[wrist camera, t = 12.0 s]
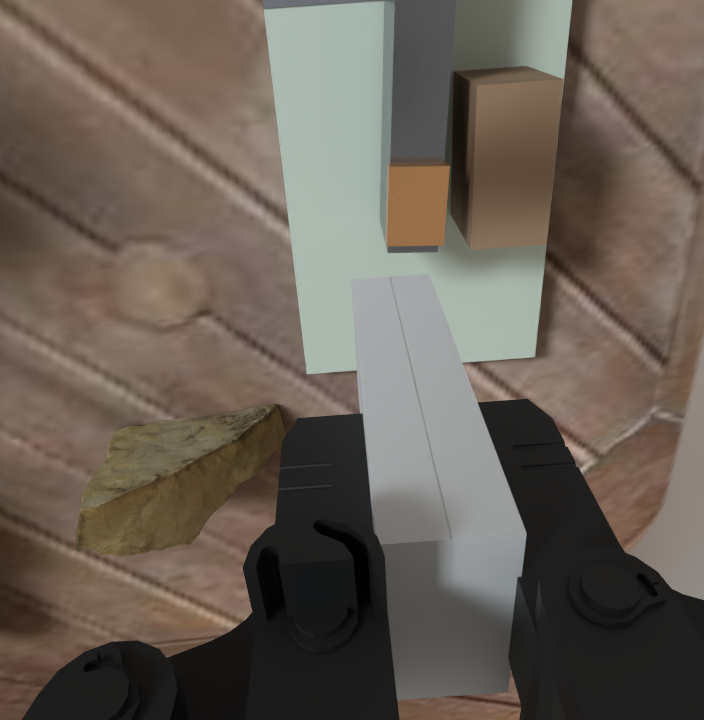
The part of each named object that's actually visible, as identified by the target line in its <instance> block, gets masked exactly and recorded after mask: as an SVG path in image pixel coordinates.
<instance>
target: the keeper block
mask: <svg viewBox="0 0 704 720" xmlns="http://www.w3.org/2000/svg"><path fill="white" fill-rule="evenodd" d="M563 81H564V79H562V78H559V77H556V76H553V75H551V74H548V73H545V72H542V71H539V70H537V69H534V68H531V67H528V66H519V67H505V68H492V69H478V70H464V71H454V75H453V123H452V171H451V216H452V218H453V220H454V222H455V223H456V225H457V227H458V229H459V230H460V232H461V234H462V236H463V237H464V239H465V241H466V242H467V244H468V246H469V248H470V249H471V250H477V249H491V248H505V247H518V246H532V245H545V244H546V243H547V233H548V224H549V214H550V205H551V195H552V186H553V176H554V167H555V157H556V148H557V138H558V129H559V119H560V110H561V100H562V90H563Z"/></svg>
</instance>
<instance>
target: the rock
mask: <svg viewBox="0 0 704 720" xmlns="http://www.w3.org/2000/svg"><path fill="white" fill-rule="evenodd" d="M285 436H286V433H285V429H284V425H283V422H282V417H281V413H280V411H279V408H278V407H277V406H276V405H263V406H257V407H253V408H248V409H243V410H241V411H235V412H227V413H220V414H215V415H212V416H205V417H199V418H190V417H188V418H181V419H175V420H167V421H166V420H164V421H160V422H156V423H152V424H148V425H145V426H128V427H123V428H121V429H119V430H116V431H115V432H114V434H113V437H112V438H111V440H110V442H109V445H108V449H107V454H106V461H105V462H104V463H103V464H102V466H101V468H100V469H99V470H98V471H97V472H96V473H95V474H94V476H93V477H92V479H91V480H90V482H89V483H88V485H87V487H86V489H85V491H84V494H83V497H82V503H81V509H80V514H79V519H78V526H77V532H76V545H77V549H78V552H81V551H85V550H90V549H95V550H98V552H99V553H100V554H103V555H115V556H130V555H135V554H141V553H146V552H149V551H152V550H155V551H161V550H164V549H165V548H167V547H173V546H178V545H183V546H186V545H188V544H191V543H192V542H194V541H195V540H196V539H197V538H198V536H199V534H200V531H201V529H202V527H203V526H204V524H205V523H206V522H207V520H208V519H209V518H210V516H211V515H212V514H213V513H214V512H215V511H216V510H217V509H218V508H220V507H221V506H222V505H223V504H224V503H225V502H226V500H227V499H228V497H230V496H231V495H232V494H233V493H234V492H235V490H236V488H237V487H238V486H239V485H240V484H241V483H242V482H244V481H246V480H249V479H251V478H253V477H254V476H255V475H256V474H257V473H258V472H259V471H261V469H262V468H263V467H264V466H265V464H266V463H267V460H268V458H269V457H270V456H271V454H272V453H273V452H274V451H275V450H276V449H277V448H279V446H280V445H281V444H282V441H283V439H284V438H285Z"/></svg>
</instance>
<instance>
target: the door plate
mask: <svg viewBox="0 0 704 720" xmlns="http://www.w3.org/2000/svg"><path fill="white" fill-rule="evenodd" d="M263 7H264V14H265V23H266V31H267V40H268V48H269V56H270V65H271V73H272V82H273V90H274V99H275V107H276V116H277V124H278V133H279V141H280V150H281V158H282V167H283V175H284V184H285V192H286V201H287V209H288V218H289V226H290V235H291V243H292V252H293V260H294V269H295V277H296V286H297V294H298V303H299V311H300V320H301V328H302V337H303V345H304V354H305V362H306V370H307V374H315V373H329V372H342V371H356V370H357V364H356V349H355V335H354V320H353V305H352V291H351V280H353V279H366V278H380V277H393V276H407V275H420V274H429V275H430V278H431V281H432V283H433V286H434V289H435V291H436V294H437V296H438V299H439V302H440V304H441V307H442V310H443V312H444V315H445V318H446V320H447V323H448V326H449V328H450V331H451V334H452V336H453V339H454V342H455V344H456V347H457V350H458V352H459V355H460V358H461V360H462V363H464V362H477V361H491V360H504V359H518V358H531V357H535V351H536V342H537V332H538V323H539V313H540V304H541V294H542V284H543V275H544V265H545V256H546V246H547V243H546V244H545V245H532V246H518V247H505V248H491V249H477V250H471V249H470V248H469V246H468V244H467V242H466V241H465V239H464V237H463V236H462V234H461V232H460V230H459V229H458V227H457V225H456V223H455V222H454V220H453V218H452V216H451V171H452V123H453V75H454V71H464V70H478V69H492V68H505V67H519V66H528V67H531V68H534V69H537V70H539V71H542V72H545V73H548V74H551V75H553V76H556V77H559V78H562V79H564V75H565V66H566V56H567V47H568V37H569V28H570V18H571V9H572V0H456V9H455V22H454V36H453V50H452V64H451V78H450V92H449V105H448V119H447V133H446V147H445V161H444V162H447V163H448V164H449V165H450V172H449V185H448V198H447V211H446V224H445V237H444V246H438V252H423V253H388V252H387V248H386V244H385V240H384V236H383V232H382V228H381V224H380V183H381V135H382V87H383V39H384V0H263ZM563 85H564V81H563ZM562 94H563V90H562ZM561 104H562V100H561ZM560 113H561V110H560ZM559 123H560V119H559ZM558 132H559V129H558ZM557 142H558V138H557ZM556 151H557V148H556ZM555 161H556V157H555ZM554 170H555V167H554ZM553 180H554V176H553ZM552 189H553V186H552ZM551 199H552V195H551ZM550 208H551V205H550ZM549 218H550V214H549ZM548 227H549V224H548ZM547 237H548V233H547Z"/></svg>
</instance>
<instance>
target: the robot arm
mask: <svg viewBox="0 0 704 720" xmlns="http://www.w3.org/2000/svg"><path fill="white" fill-rule="evenodd" d="M351 291H352V305H353V320H354V335H355V349H356V364H357V379H358V393H359V405H360V414H348V415H334V416H321V417H308V418H298V419H297V420H296V422H295V423H294V425H293V426H292V428H291V429H290V430H289V432H288V433H287V435H286V436H285V438H284V439H283V441H282V452H281V463H280V467H281V470H280V475H279V486H278V487H279V492H278V497H277V508H276V520H275V524H274V525H272V526H271V527H269V528H267V529H266V530H265V531H264V532H263V533H262V535H261V536H260V537H259V538H258V539H257V540H256V541H255V542H254V543H253V544H252V545H251V547H250V550H249V552H248V555H247V558H246V560H245V563H244V566H243V571H244V576H245V580H246V585H247V589H248V593H249V598H250V602H251V607H252V611H253V612H252V613H251V614H250V616H249V617H248V618H247V619H246V620H245V621H243V622H242V623H241V624H239V625H238V626H237V627H236V628H234V629H233V630H232V631H230V632H228V633H226V634H224V635H222V636H220V637H218V638H216V639H214V640H212V641H210V642H207V643H205V644H202V645H199V646H197V647H194V648H192V649H189V650H186V651H184V652H181V653H179V654H176V655H173V656H171V657H168V658H166V657H165V655H164V654H163V653H162V652H161V651H160V649H158V648H155V647H153V646H150V645H148V644H145V643H143V642H140V641H118V642H110V643H107V644H105V645H102V646H99V647H97V648H94V649H91V650H88V651H86V652H84V653H82V654H81V655H80V656H78V657H77V658H75V659H74V660H73V661H71V662H70V663H68V664H67V665H65V666H64V667H63V668H61V669H60V670H59V671H58V672H57V673H56V674H55V675H54V676H53V678H52V679H51V680H50V681H49V682H48V684H47V685H46V686H45V687H44V688H43V689H42V691H41V692H40V693H39V694H38V695H37V697H36V699H35V700H34V702H33V703H32V705H31V706H30V708H29V709H28V711H27V713H26V714H25V716H24V717H23V719H22V720H399V712H398V703H397V700H406V699H419V698H432V697H445V696H458V695H471V694H484V693H498V692H508V687H509V679H510V670H512V674H513V678H514V681H515V685H516V688H517V692H518V696H519V699H520V703H521V713H520V720H704V600H701V599H698V598H694V597H691V596H687V595H683V594H681V593H679V592H677V591H675V590H673V589H671V588H670V586H669V585H668V584H667V583H666V582H665V580H664V579H663V578H662V577H661V576H660V574H659V573H658V572H657V571H655V570H654V569H652V568H651V567H650V566H648V565H647V564H645V563H644V562H642V561H641V560H639V559H638V558H636V557H635V556H632V555H629V554H627V553H625V551H624V550H623V549H622V547H621V546H620V544H619V542H618V540H617V538H616V537H615V535H614V533H613V531H612V529H611V527H610V525H609V523H608V522H607V520H606V518H605V516H604V514H603V512H602V510H601V509H600V507H599V505H598V503H597V501H596V499H595V497H594V496H593V494H592V492H591V490H590V488H589V486H588V484H587V482H586V481H585V479H584V477H583V475H582V473H581V471H580V469H579V468H578V467H576V465H575V460H574V458H573V456H572V455H571V453H570V451H569V449H568V447H565V442H564V440H563V438H562V436H561V434H560V432H559V430H558V428H557V427H556V425H555V423H554V421H553V419H552V418H551V417H550V416H549V415H547V414H546V413H545V412H544V411H542V410H541V409H540V408H539V407H537V406H536V405H535V404H533V403H532V402H531V401H530V400H528V399H519V400H506V401H492V402H479V403H477V400H476V397H475V395H474V392H473V389H472V387H471V384H470V382H469V379H468V376H467V374H466V371H465V368H464V366H463V363H462V360H461V358H460V355H459V352H458V350H457V347H456V344H455V342H454V339H453V336H452V334H451V331H450V328H449V326H448V323H447V320H446V318H445V315H444V312H443V310H442V307H441V304H440V302H439V299H438V296H437V294H436V291H435V289H434V286H433V283H432V281H431V278H430V275H429V274H420V275H407V276H393V277H380V278H366V279H353V280H351Z"/></svg>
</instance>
